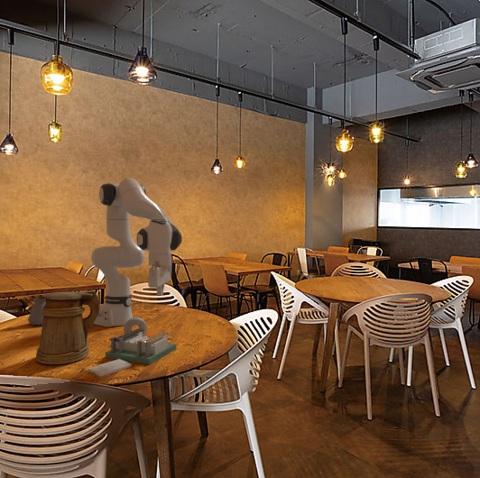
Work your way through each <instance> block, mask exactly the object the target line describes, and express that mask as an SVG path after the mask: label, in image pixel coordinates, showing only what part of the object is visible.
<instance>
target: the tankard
mask: <svg viewBox="0 0 480 478" xmlns="http://www.w3.org/2000/svg"><path fill="white" fill-rule="evenodd" d="M40 298H43V299H46V304H45V306H44V307H43V310H42V311H43V312H42V315H44V317H43V324H42V326H41V333H40V339H39V345H38V348H37V349H36V355H35V360H36V362H38V363H40V364H44V365H66V364H70V363H76V362H78V361H82V360H83V359H84V358H86V357H87V356H88V355H89V350H90V348H89V344H88V342H87V341H88V335H89V332H90V329H91V328H92V326H93V325H94V324H93V323H94V322H95V320H96V318H97V316H98V313H99V309H100V306H101V305H100V304H101V303H100V298H99V297H98V295H97V293H96V290H95V289H91V290H86V291H72V292H71V291H63V292H62V291H61V292H59V291H57V292H50V293H46V294H45V293H44V294H42V295H41V296H40ZM83 306H88V307H89V311H90V312H89V314H88V315H87V316H86V317H85V318H84V316H83V313H84V312H85V311H86V308H85V307H83ZM75 361H76V362H75Z"/></svg>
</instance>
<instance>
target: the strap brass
mask: <svg viewBox="0 0 480 478" xmlns="http://www.w3.org/2000/svg"><path fill="white" fill-rule="evenodd" d="M165 335H167V338H168V337H169V332H168V331H161V332H159V333H157V334H154V335H152V336H151V337H148V338H149V339H146V340H144V341H141V342H140V345H143V346H146V342H148V341H149V342H150V343H151V342H153V341H155V340H157V339H159V338H161V337H163V336H165Z"/></svg>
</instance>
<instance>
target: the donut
mask: <svg viewBox="0 0 480 478" xmlns="http://www.w3.org/2000/svg"><path fill="white" fill-rule="evenodd" d="M134 326H138V329H144V333H143V334H142V337H145V336H146V332H147V329H148V327H147V322H145V320H144V319H143V318H140V317H138V316H137V317H136V316H135V317H133V318H131V319H129V320H128V321H127V322H126V323H125V325H123V333H124V334H127V333H129V332H131V331H133V330H132V328H133V327H134ZM124 334H123V335H124Z"/></svg>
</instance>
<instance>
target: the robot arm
mask: <svg viewBox="0 0 480 478" xmlns="http://www.w3.org/2000/svg"><path fill="white" fill-rule="evenodd" d="M98 197H99V198H98V199H99V201H100V203H101V204H102V205H103V206H107V207H106V215H105V220H106V235H107V236H108V237H109V238H110V239H113V240H115V241H117V242H118V243H119V244H120V245H117V246H115V245H113V246H111V245H110V246H108V245H107V246H106V245H105V246H100V247H95V248H94V250H93V251H92V253H91V256H90V257H91V258H90V259H91V262H92V264H93V266H94V267H95V268H97V269H98V270H100V271H101V272H102V274H103V276H104V277H105V280H106V286H107V287H106V288H107V295H106V296H103V298H102V299H103V300H104V303H102V305H100V309H99V313H98V316H97V318H96V320H95V322H94V323H93V325H96V326H101V327H104V328H105V327H106V328H111V327H120V326H124V325H125V323H126V322H127V321H128V320H129V319H131V318H134V317H133V311H132V294H131V280H130V278H129V277H128V276H127V275H125V274H122V273H120V272H119V271H118V269H121V268H122V269H123V268H125V269H126V268H129V269H130V268H135V267H140V266H141V265H143V264H144V262H145V258H146V254H145V252H144V251H146V252H147V251H148V266H150V267H149V269H148V275H147V276H148V279H147V280H148V281H147V284H148V287H149V288H151V289H152V288H153V289H156V295H157V296H158V297H161V296H162V295H164V289H165V283H167V282H168V281H171V278H172V271H173V270H172V267H173V266H172V264H173V262H174V258H173V257H172V251H176V250H177V249H178V248H179V247H180V246H181V244H182V242H183V237H182V234H181V232H180V230H179V228H177V226H175V225H174V224H173V223H172V222H171V220H170V219H169V217H168V215H167V214H166V213H165V212H164V210H163V209H162V208H161V207H160V205H158V204H157V203H156V202H154V201H153V200H151V198H149V196H147V191H146V188H145V187H144V185H143V184H141V183H139V182H138V181H137V180H136V179H135V178H132V177H127V178H123V179H122V180H121V181H120V182H118V183H117V182H114V183H110V182H109V183H108V182H107V183H104V184H102V185H101V186H100V187H99V191H98ZM130 215H131V216H133V217H138V218H143V219H147V220H150V221H149V223H148V225H147V226H145V227H144V228H143V227H142V228H141V229H139V231H138V232H137V233H136V242H135V241H134V239H133V237H132V234H131V225H130V222H131V221H130Z"/></svg>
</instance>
